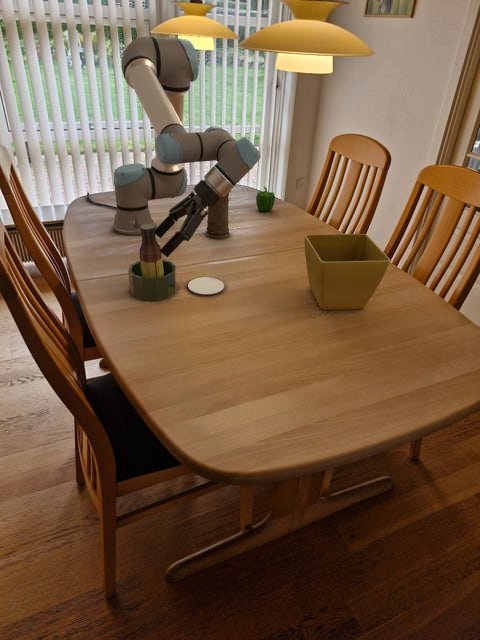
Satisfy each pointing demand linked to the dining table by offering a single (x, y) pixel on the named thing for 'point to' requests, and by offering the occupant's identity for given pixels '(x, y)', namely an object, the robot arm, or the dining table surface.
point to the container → (218, 219)
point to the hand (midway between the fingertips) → (159, 244)
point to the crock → (152, 283)
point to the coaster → (206, 286)
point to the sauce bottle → (150, 253)
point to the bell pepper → (265, 200)
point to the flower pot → (343, 269)
